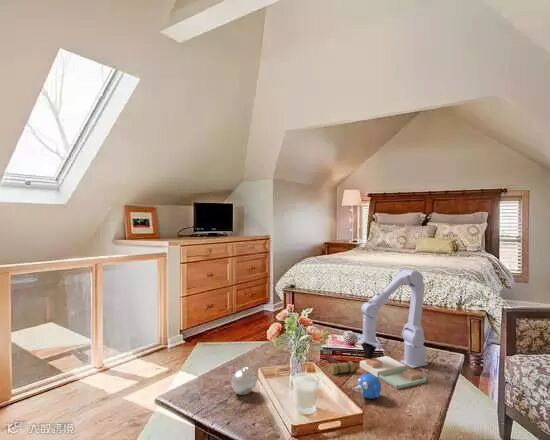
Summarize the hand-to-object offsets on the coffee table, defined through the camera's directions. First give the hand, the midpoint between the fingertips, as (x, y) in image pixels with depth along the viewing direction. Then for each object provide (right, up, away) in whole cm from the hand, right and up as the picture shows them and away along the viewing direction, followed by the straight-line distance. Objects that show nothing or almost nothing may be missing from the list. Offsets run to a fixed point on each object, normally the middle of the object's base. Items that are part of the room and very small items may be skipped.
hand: (368, 359), depth 161 cm
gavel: (-15, -4, +3) cm, 16 cm away
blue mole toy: (-8, -4, -27) cm, 29 cm away
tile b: (+1, -1, -3) cm, 4 cm away
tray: (+11, -4, -12) cm, 16 cm away
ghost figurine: (-54, -3, -25) cm, 60 cm away
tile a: (+15, -1, -11) cm, 18 cm away
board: (+6, -4, -1) cm, 7 cm away
